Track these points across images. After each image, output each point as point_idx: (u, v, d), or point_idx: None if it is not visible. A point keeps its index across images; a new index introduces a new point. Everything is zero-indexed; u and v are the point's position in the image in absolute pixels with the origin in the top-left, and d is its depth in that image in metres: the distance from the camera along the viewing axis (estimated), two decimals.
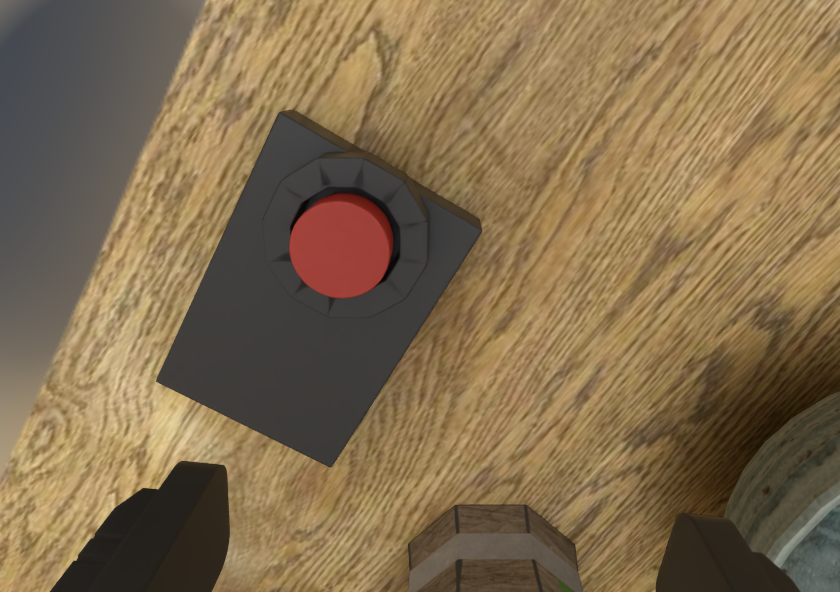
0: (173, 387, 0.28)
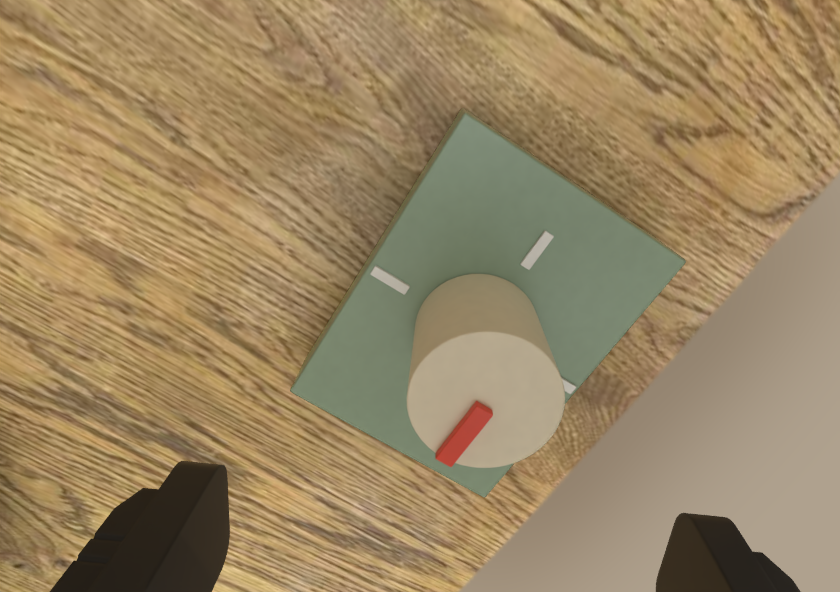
0: None
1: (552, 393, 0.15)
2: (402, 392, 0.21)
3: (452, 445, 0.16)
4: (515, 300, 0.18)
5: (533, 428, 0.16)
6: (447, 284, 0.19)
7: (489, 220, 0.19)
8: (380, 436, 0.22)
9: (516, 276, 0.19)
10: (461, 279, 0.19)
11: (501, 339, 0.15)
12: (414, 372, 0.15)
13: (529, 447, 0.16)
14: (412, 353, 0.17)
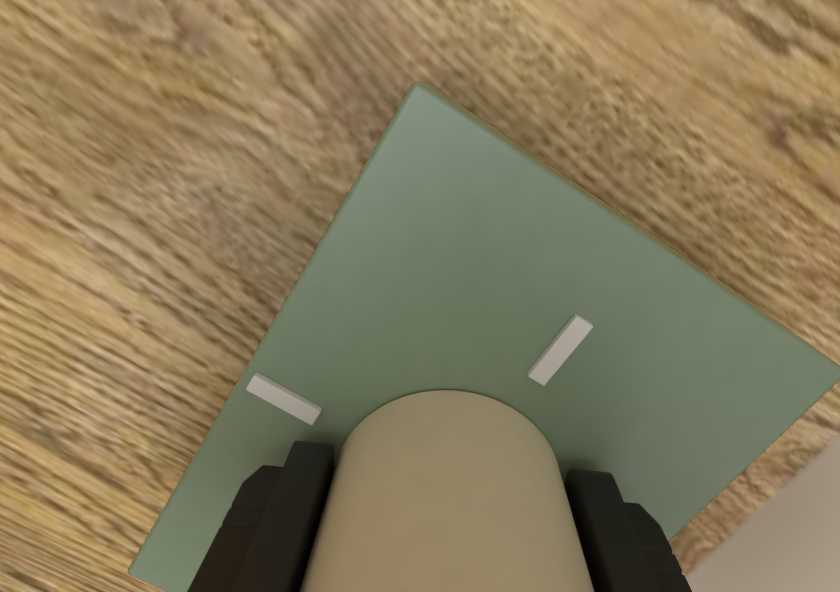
0: None
1: None
2: None
3: None
4: (517, 465, 0.09)
5: None
6: (389, 412, 0.10)
7: (468, 294, 0.10)
8: None
9: (519, 395, 0.10)
10: (414, 404, 0.10)
11: None
12: None
13: None
14: (302, 582, 0.08)
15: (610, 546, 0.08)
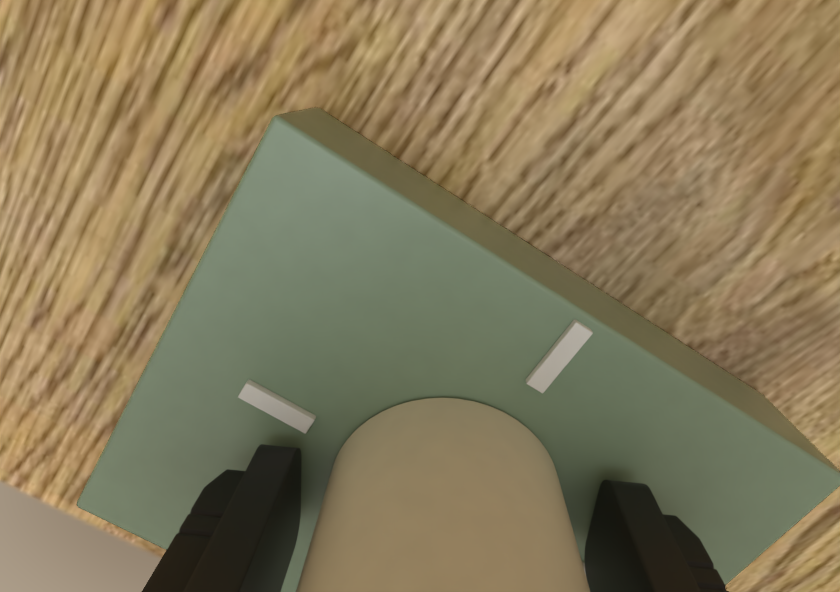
0: None
1: None
2: (299, 368, 0.10)
3: None
4: (508, 472, 0.08)
5: None
6: (377, 424, 0.10)
7: None
8: (182, 320, 0.10)
9: None
10: (403, 414, 0.10)
11: None
12: None
13: None
14: None
15: (653, 561, 0.08)
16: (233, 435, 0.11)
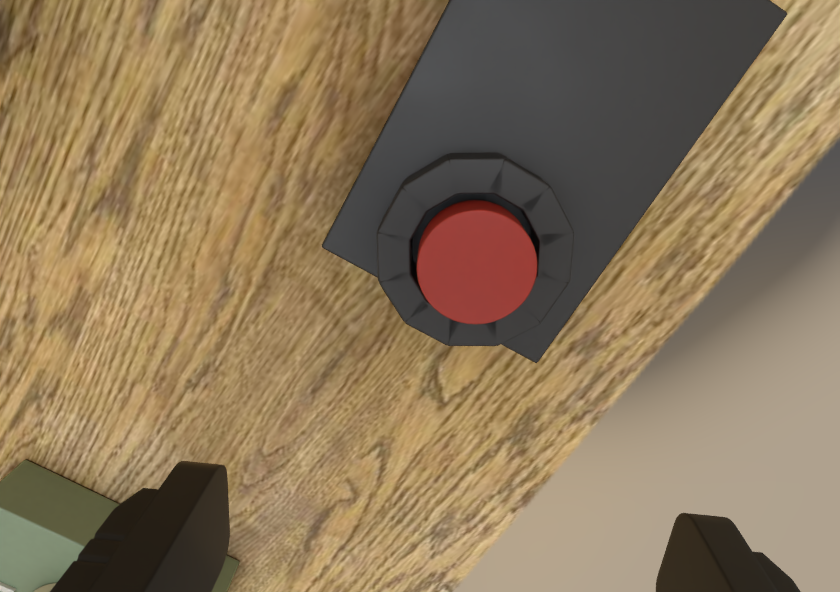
0: (763, 3, 0.19)
1: None
2: (6, 573, 0.27)
3: None
4: None
5: None
6: None
7: None
8: None
9: None
10: (41, 591, 0.27)
11: None
12: None
13: None
14: None
15: None
16: None
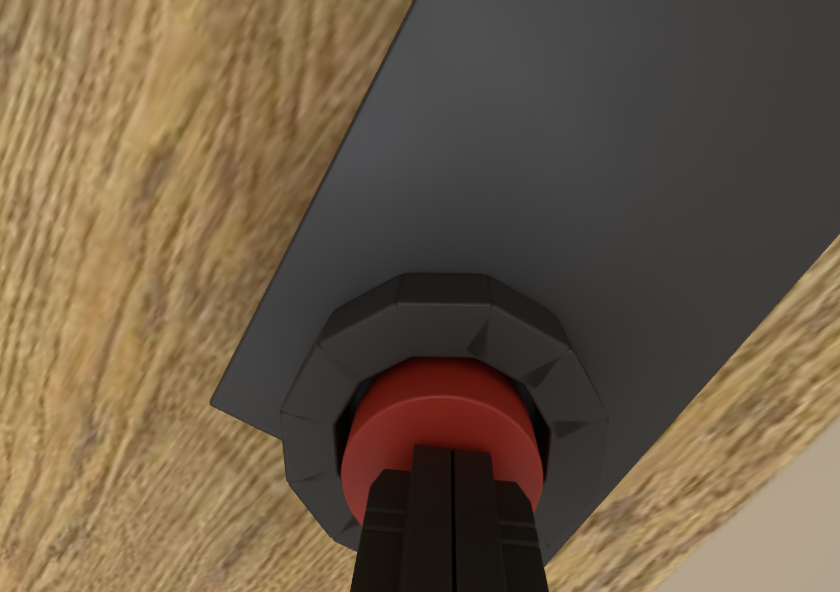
0: None
1: None
2: None
3: None
4: None
5: None
6: None
7: None
8: None
9: None
10: None
11: None
12: None
13: None
14: None
15: (466, 519, 0.09)
16: None
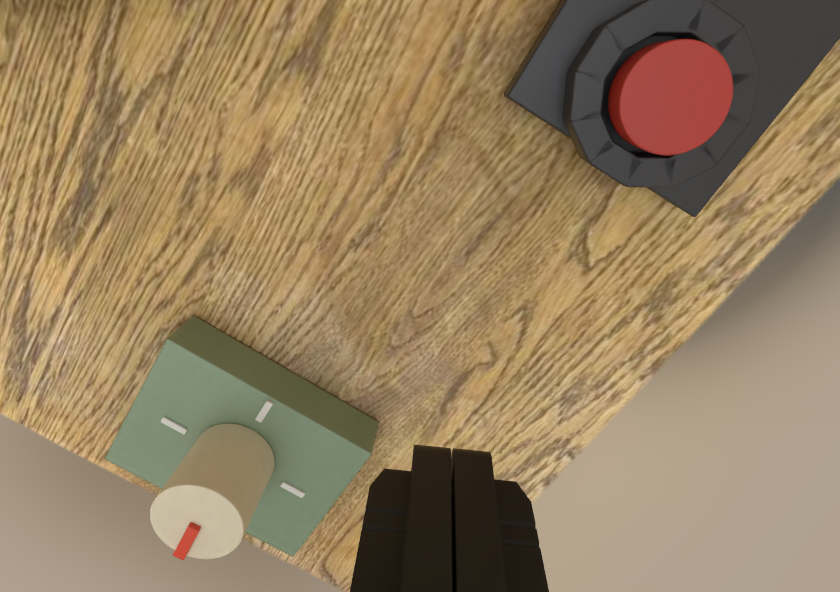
0: None
1: (233, 517, 0.26)
2: (181, 412, 0.30)
3: (180, 548, 0.26)
4: (235, 448, 0.28)
5: (228, 536, 0.26)
6: (205, 432, 0.29)
7: (308, 465, 0.30)
8: (141, 396, 0.29)
9: (274, 478, 0.31)
10: (213, 429, 0.29)
11: (194, 488, 0.25)
12: (151, 507, 0.26)
13: (229, 547, 0.26)
14: None
15: (466, 519, 0.09)
16: (160, 434, 0.30)
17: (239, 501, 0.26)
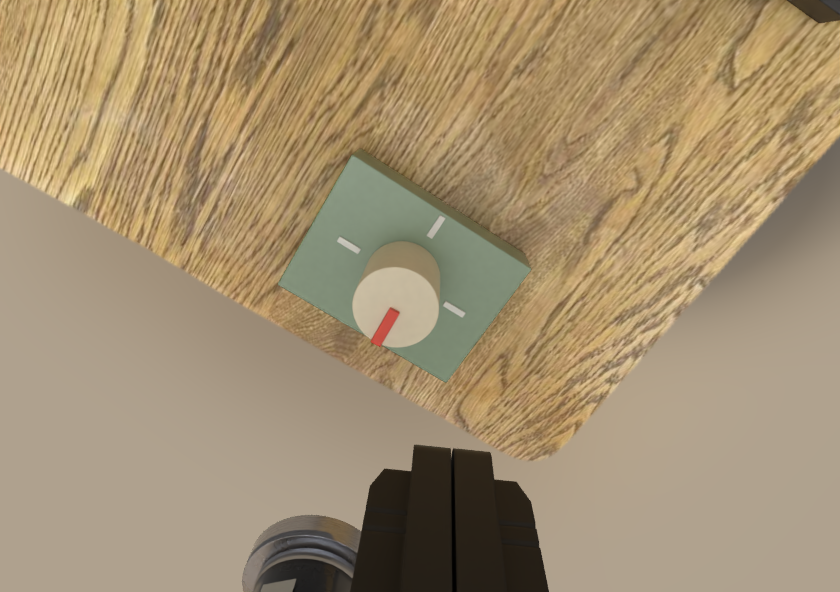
0: None
1: (431, 300, 0.28)
2: (356, 232, 0.32)
3: (379, 333, 0.29)
4: (417, 253, 0.30)
5: (423, 321, 0.29)
6: (381, 248, 0.32)
7: (471, 283, 0.33)
8: (320, 216, 0.32)
9: None
10: (388, 244, 0.32)
11: (399, 270, 0.28)
12: None
13: (422, 333, 0.29)
14: None
15: (466, 519, 0.09)
16: (333, 256, 0.33)
17: (434, 287, 0.28)
